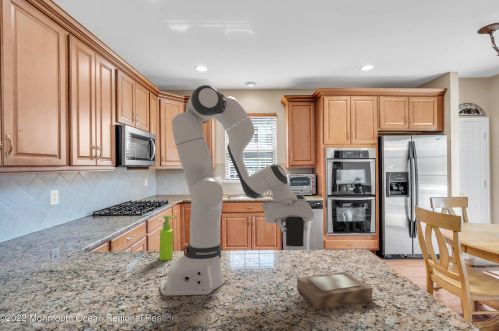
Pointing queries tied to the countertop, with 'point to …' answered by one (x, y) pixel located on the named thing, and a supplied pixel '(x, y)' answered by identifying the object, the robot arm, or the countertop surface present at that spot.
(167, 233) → the soap dispenser
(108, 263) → the countertop surface
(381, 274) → the countertop surface
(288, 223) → the battery charger
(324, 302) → the brown flat rectangular block
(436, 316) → the countertop surface
